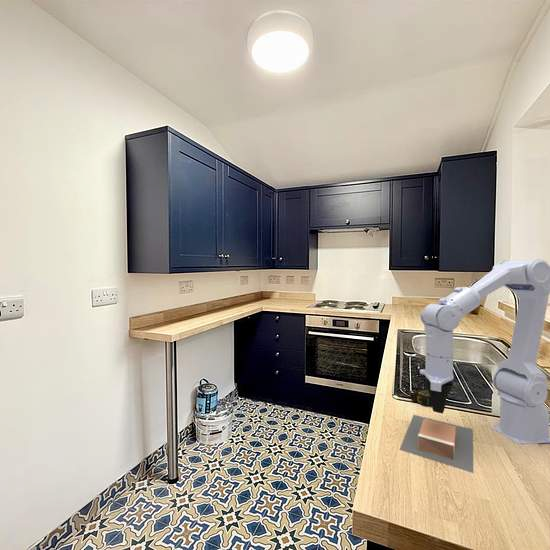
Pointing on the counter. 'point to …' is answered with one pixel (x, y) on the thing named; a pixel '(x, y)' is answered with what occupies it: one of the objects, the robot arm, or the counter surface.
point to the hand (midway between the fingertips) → (438, 411)
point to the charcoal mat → (461, 456)
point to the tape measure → (421, 397)
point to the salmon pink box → (437, 438)
